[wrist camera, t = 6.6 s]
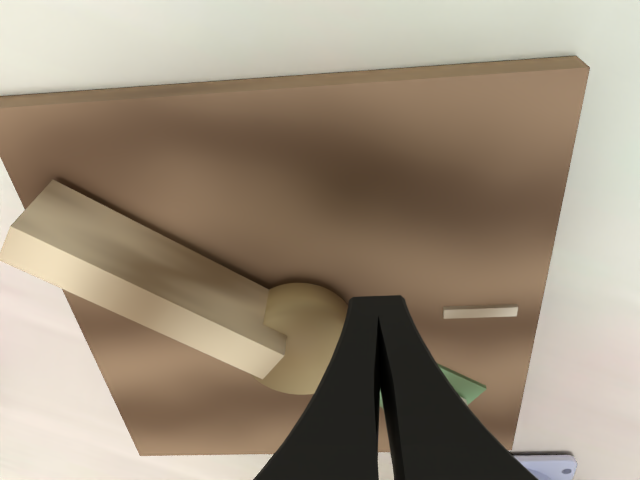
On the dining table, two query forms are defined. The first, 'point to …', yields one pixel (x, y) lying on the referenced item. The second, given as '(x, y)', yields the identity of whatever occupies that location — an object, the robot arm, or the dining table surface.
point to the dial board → (320, 219)
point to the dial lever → (177, 290)
